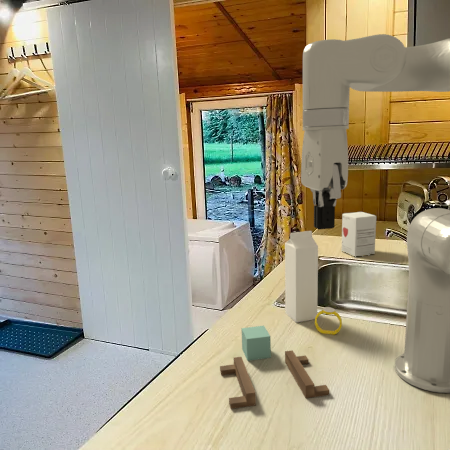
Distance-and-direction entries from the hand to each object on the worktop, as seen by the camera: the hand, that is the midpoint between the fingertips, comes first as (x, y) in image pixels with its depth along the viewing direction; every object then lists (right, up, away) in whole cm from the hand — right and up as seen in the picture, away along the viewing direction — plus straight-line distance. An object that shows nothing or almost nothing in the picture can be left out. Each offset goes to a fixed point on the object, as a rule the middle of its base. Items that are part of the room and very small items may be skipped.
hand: (324, 227), depth 73 cm
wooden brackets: (-9, -29, +5) cm, 31 cm away
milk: (+2, -23, +32) cm, 39 cm away
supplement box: (+33, -10, +83) cm, 90 cm away
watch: (+6, -25, +23) cm, 34 cm away
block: (-11, -27, +15) cm, 33 cm away
